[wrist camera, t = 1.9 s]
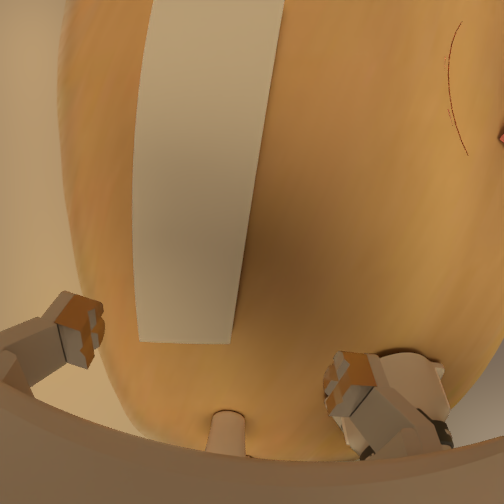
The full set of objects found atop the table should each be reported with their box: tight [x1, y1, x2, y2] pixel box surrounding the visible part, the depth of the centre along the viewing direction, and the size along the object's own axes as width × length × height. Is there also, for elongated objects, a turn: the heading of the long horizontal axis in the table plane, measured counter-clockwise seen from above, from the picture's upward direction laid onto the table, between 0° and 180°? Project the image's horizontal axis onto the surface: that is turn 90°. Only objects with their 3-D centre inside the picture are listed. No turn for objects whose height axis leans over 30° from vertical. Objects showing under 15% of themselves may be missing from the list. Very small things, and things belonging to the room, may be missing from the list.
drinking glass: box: [205, 411, 246, 457], centre depth 39 cm, size 7×7×15 cm
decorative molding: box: [132, 0, 285, 344], centre depth 27 cm, size 34×5×10 cm
